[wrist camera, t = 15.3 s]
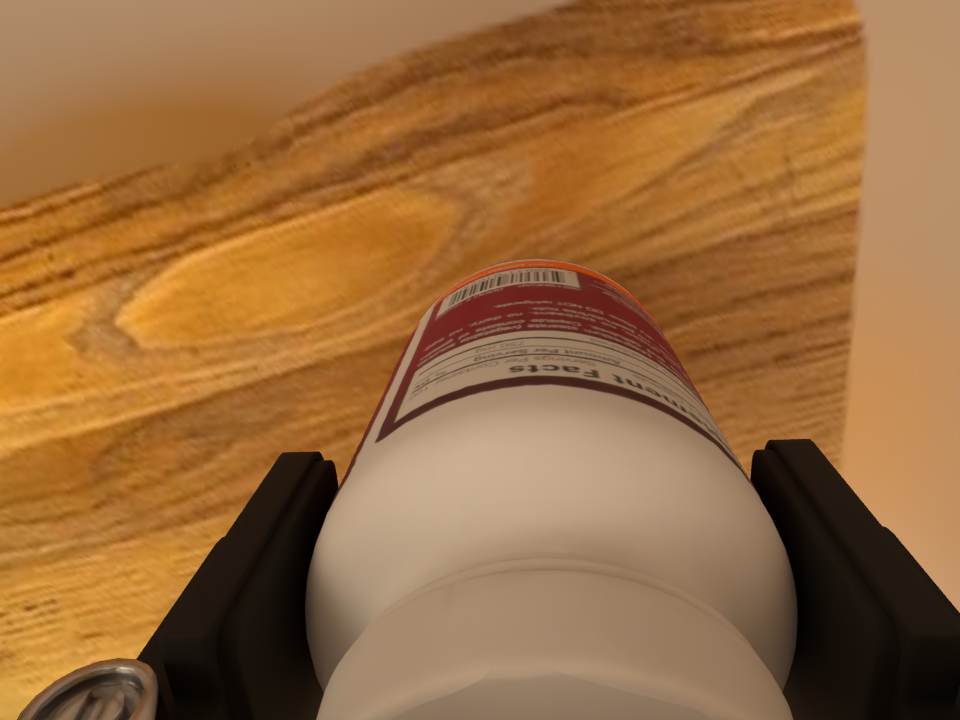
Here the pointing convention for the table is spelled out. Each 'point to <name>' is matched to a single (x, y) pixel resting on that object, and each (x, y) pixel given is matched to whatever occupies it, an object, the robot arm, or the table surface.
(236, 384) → the table surface
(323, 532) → the pill bottle
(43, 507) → the table surface
